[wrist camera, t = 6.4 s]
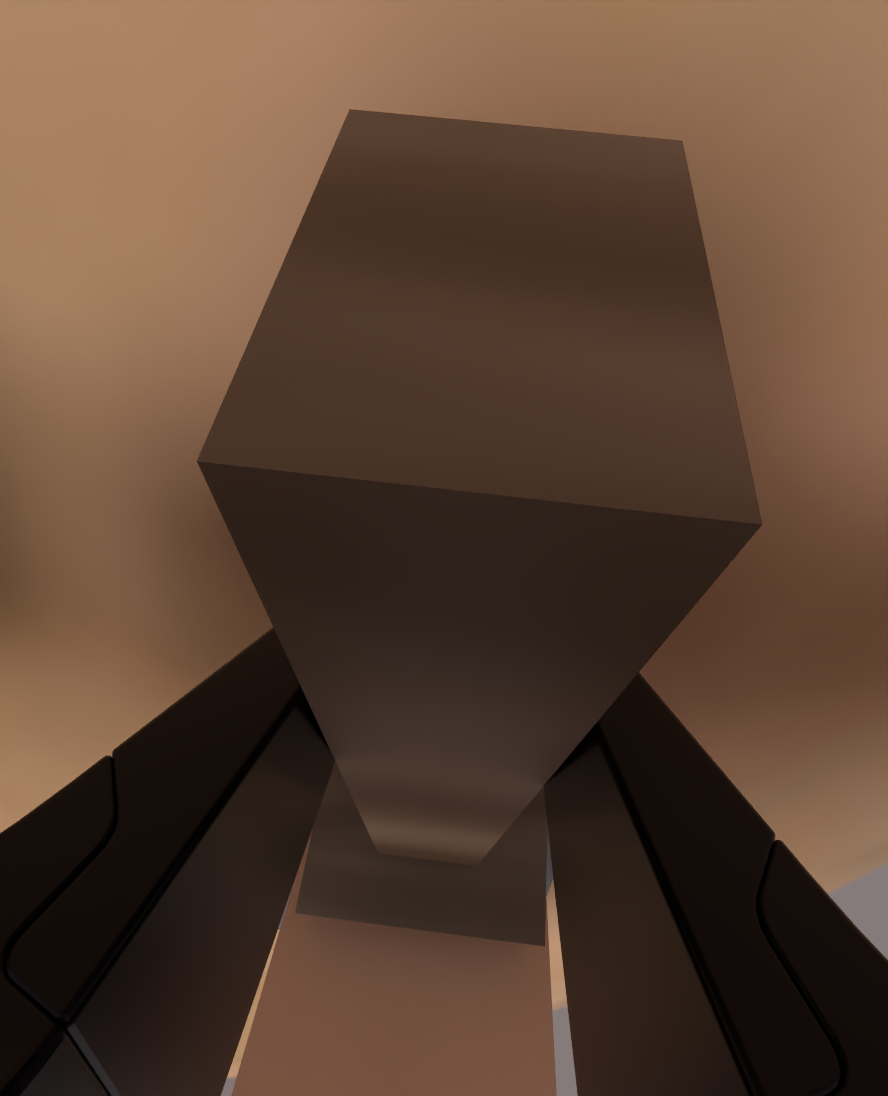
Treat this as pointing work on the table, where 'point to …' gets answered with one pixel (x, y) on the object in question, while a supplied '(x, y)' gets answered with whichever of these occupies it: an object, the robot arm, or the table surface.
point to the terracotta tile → (398, 1013)
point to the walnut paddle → (476, 488)
